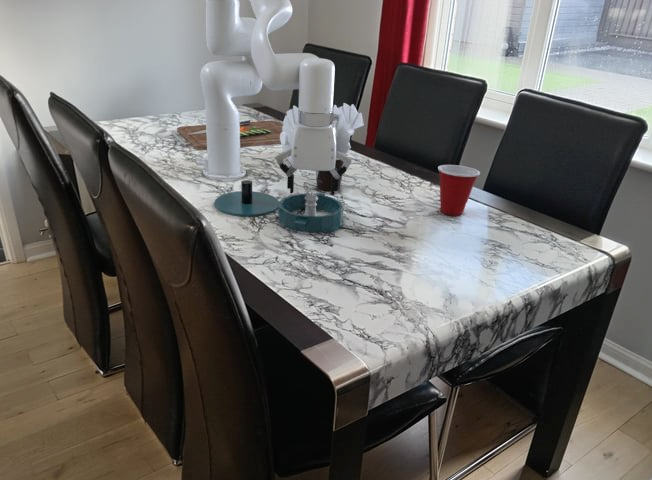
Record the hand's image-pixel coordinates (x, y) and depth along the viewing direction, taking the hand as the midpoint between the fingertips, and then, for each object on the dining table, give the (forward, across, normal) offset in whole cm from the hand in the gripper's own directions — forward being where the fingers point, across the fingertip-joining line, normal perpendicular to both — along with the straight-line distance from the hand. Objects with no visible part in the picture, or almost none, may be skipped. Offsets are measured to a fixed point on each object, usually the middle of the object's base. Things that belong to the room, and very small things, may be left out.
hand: (312, 192), depth 135 cm
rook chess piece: (+9, 0, 0) cm, 9 cm away
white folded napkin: (+9, 0, -56) cm, 57 cm away
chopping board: (+8, +28, -80) cm, 85 cm away
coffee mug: (+9, -5, -29) cm, 31 cm away
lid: (+8, +17, -12) cm, 22 cm away
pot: (+9, 0, -4) cm, 10 cm away
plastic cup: (+9, -37, -16) cm, 42 cm away
